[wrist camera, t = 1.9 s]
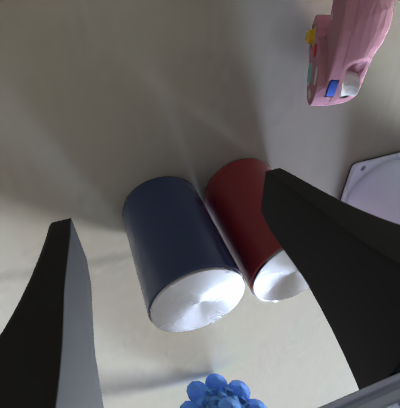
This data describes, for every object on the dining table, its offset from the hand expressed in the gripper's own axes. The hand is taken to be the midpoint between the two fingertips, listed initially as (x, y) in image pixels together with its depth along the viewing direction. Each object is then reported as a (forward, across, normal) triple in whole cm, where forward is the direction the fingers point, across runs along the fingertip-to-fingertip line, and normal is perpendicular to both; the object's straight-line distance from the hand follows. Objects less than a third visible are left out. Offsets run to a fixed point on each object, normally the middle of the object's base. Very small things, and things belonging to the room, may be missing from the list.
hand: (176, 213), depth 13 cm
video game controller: (+11, -12, -4) cm, 17 cm away
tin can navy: (+10, -1, +9) cm, 14 cm away
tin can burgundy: (+10, -8, +9) cm, 16 cm away
